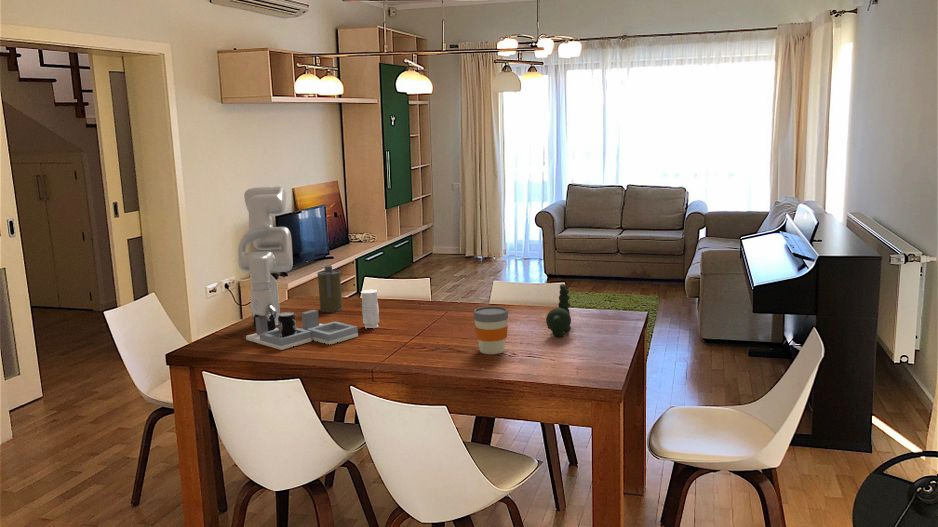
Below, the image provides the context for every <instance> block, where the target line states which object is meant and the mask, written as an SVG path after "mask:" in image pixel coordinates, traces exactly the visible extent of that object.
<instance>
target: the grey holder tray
mask: <svg viewBox="0 0 938 527" xmlns="http://www.w3.org/2000/svg"><path fill="white" fill-rule="evenodd" d="M270 316H271V315H269V317H270ZM255 321H256V327H255V330H256V333H253V334H248V335H245V340H246V341H250V342H253V343H257V344H259V345H263V346H267V347H270V348H273V349H277V350H280V351H282V350H286V349H289V348H293V346H294V347H297V346H300V345H303V344H306V343H311V342H312V341H313V340H312V339H311V331H308V330H304V329H302V328H300V327H296V331H297V334H293V335H290V336H286V337H283V338H281V337H279V327H276V329H274V330H271V331H268V325H267V321H268V319H267V317H266V315H265V316H258V317H255Z"/></svg>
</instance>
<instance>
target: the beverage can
mask: <svg viewBox="0 0 938 527" xmlns="http://www.w3.org/2000/svg"><path fill="white" fill-rule="evenodd" d="M277 326H278V329H279V337H281V338H283V337H286V336H290V335H293V334H297V331H296V328H297V322H296V315H295V313H294V312H293V311H284V312H280V314H279V317H278V325H277Z"/></svg>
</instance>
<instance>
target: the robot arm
mask: <svg viewBox="0 0 938 527" xmlns="http://www.w3.org/2000/svg"><path fill="white" fill-rule="evenodd" d="M243 194H244V195H243V197H244V198H243V199H244V203H245V207H246V209H247V211H248V230H247V231H246V232H245V233H244V235H243V236H242V237H241V239H239V240H240V241H239V243H238V248H237V252H238V253H237V257H238V258H237V262H238V268H239V269H240V271H242V272H249V275H250V276H249V279H250V287H251V288H250V305H249V307H250V312H251V314H252V317H253V327H254V328H256V321H255V317H258V316H265V315H266V317H267V319H268V321H267V325H268V331H271V330H274V329H276V328H277V326H278V317H279V314H280V313H281V310H280V299H279V288H278V287H279V286H278V282H277V279H276V278H275V277H274V276H273V275H272V274H274V273H284V272H289V271H291V270H292V268H293V264H294V262H293V260H294V259H293V241H292V234H291V231H290V229H289V228H288V227H287V226H274V225H273V224H274V221H273V217H272V216H271V215H282V214H283V213H284V212H285V209H286V202H287V193H286V190H285V188H284V187H282V186H260V187H252V188H248V189H246V190H245V192H244V193H243ZM251 243H253V247H254V248H255V249H256V250H258V251H253V252H252V251H250V252H249V251H248V252H246V251H247V248H248V246H249V245H250V244H251ZM269 315H271V316H270V317H269Z"/></svg>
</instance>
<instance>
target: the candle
mask: <svg viewBox="0 0 938 527" xmlns="http://www.w3.org/2000/svg"><path fill="white" fill-rule="evenodd" d="M360 293H361V312H362V313H361V314H362V324H364V326H363V327H365V328H364V329H367V328H373V329H377V328H379V324H378V323H379V322H380V314H379V313H380V312H379V308H380V307H379V303H378V290H377V289H363V290H361V291H360Z"/></svg>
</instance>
